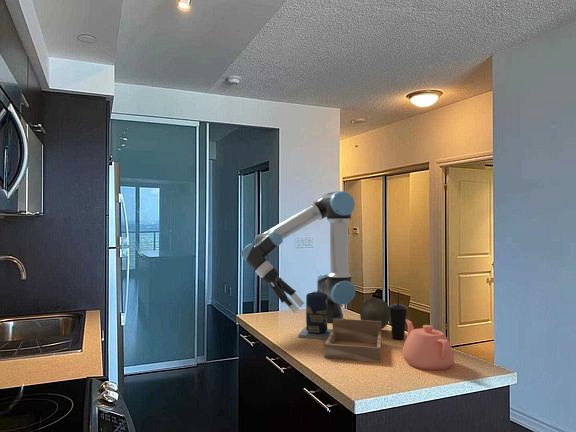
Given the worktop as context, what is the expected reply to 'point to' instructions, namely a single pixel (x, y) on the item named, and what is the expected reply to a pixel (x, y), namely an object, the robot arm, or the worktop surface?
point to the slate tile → (314, 334)
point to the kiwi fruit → (375, 311)
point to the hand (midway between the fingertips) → (299, 308)
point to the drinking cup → (398, 320)
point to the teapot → (427, 348)
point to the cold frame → (354, 340)
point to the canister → (316, 312)
